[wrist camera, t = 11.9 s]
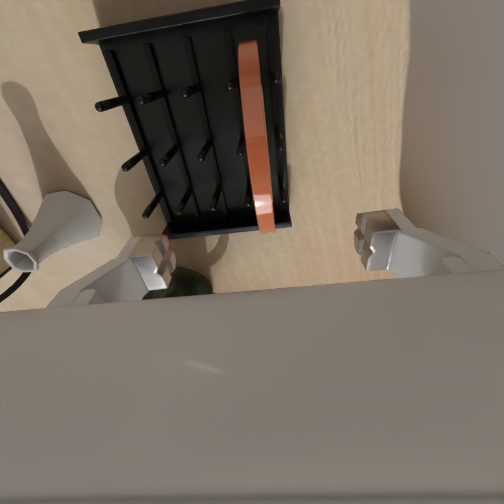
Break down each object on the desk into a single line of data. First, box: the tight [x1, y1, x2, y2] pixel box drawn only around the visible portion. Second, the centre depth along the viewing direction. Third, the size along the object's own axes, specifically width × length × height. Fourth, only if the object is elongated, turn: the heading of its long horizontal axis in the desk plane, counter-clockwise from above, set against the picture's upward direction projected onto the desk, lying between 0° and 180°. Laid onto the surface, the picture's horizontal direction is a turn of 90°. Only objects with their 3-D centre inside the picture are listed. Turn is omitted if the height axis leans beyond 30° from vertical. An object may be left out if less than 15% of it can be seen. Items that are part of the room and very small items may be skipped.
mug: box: [142, 269, 217, 300], centre depth 38 cm, size 11×15×12 cm
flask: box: [3, 191, 101, 272], centre depth 31 cm, size 7×7×10 cm
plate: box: [238, 39, 275, 234], centre depth 21 cm, size 14×1×14 cm, turn 8°
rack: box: [78, 0, 292, 240], centre depth 26 cm, size 20×16×7 cm
